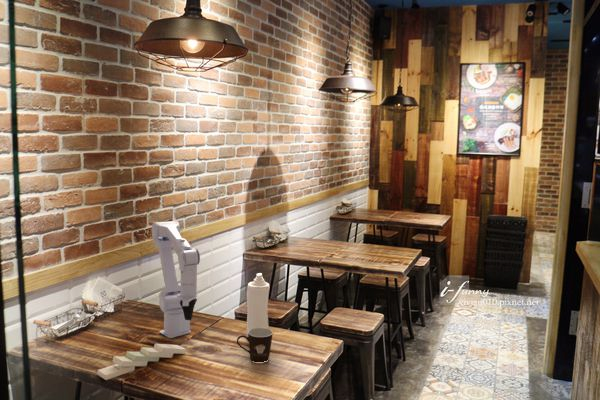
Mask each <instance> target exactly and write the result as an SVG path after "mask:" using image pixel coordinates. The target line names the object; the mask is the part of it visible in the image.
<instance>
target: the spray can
mask: <svg viewBox="0 0 600 400" xmlns="http://www.w3.org/2000/svg"><path fill="white" fill-rule="evenodd" d="M255 275H256V277H254V278H253V281H250V282H248V284H247V287H246V307H247V308H246V309H247V316H246V336H247V337H248V331H249V330H250V329H253V328H267V329H270V328H269V327H270V326H269V317H268V314H269V313H268V309H269V308H268V307H269V306H268V305H269V294H270V289H271V288H270V287H271V286H270V283H268V282H267V281H265V278H264V277H263V273H261V272H259V273H256V274H255Z"/></svg>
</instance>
